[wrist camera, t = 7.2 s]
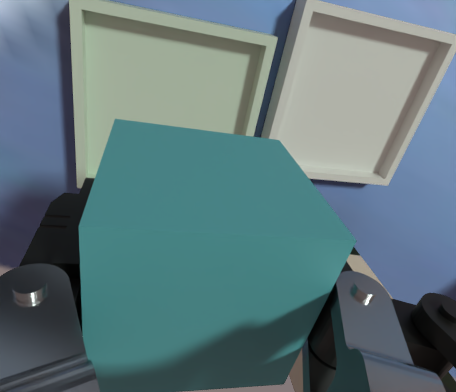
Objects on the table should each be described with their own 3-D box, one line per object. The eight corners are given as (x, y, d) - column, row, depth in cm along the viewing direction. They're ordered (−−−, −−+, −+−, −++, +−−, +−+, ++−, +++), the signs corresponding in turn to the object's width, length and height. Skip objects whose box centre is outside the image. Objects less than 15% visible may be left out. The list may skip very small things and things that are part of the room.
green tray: (270, 34, 18) (277, 37, 17) (233, 188, 23) (238, 198, 22) (75, -7, 16) (68, -6, 15) (81, 176, 21) (77, 188, 20)
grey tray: (445, 33, 20) (463, 36, 19) (377, 176, 25) (387, 185, 24) (297, -4, 18) (307, -3, 16) (253, 164, 23) (259, 174, 21)
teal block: (279, 140, 11) (356, 240, 6) (244, 257, 13) (283, 384, 9) (115, 118, 9) (78, 226, 5) (111, 252, 12) (84, 398, 8)
